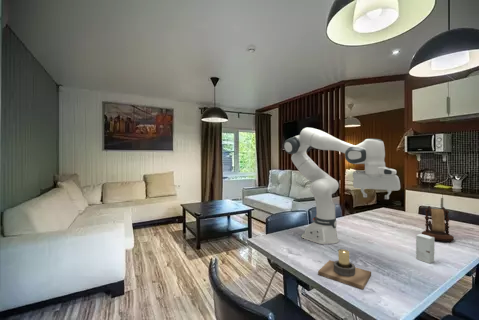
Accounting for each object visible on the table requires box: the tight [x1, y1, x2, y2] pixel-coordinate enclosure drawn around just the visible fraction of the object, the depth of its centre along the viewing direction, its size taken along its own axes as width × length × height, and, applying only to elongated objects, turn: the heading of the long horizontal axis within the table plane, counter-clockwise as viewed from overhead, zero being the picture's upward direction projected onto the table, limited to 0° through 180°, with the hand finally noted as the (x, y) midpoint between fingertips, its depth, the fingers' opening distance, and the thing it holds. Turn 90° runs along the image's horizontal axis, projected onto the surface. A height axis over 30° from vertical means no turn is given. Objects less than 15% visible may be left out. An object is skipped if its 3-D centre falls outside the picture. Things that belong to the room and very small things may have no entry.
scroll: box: [421, 205, 455, 243], centre depth 137 cm, size 15×15×20 cm
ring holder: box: [317, 259, 372, 290], centre depth 98 cm, size 18×14×4 cm
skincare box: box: [415, 233, 436, 264], centre depth 110 cm, size 6×4×12 cm
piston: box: [337, 248, 351, 268], centre depth 98 cm, size 4×4×9 cm
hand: (375, 198), depth 111 cm, fingers open, 8 cm apart
